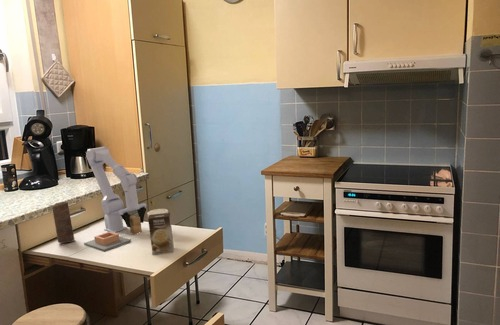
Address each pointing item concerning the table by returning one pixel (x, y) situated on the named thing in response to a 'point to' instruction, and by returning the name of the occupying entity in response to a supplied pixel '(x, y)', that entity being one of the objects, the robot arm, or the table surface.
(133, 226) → the oak peg
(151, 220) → the coffee box
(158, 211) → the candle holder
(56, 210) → the brown tall block
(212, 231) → the table surface
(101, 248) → the collar board
